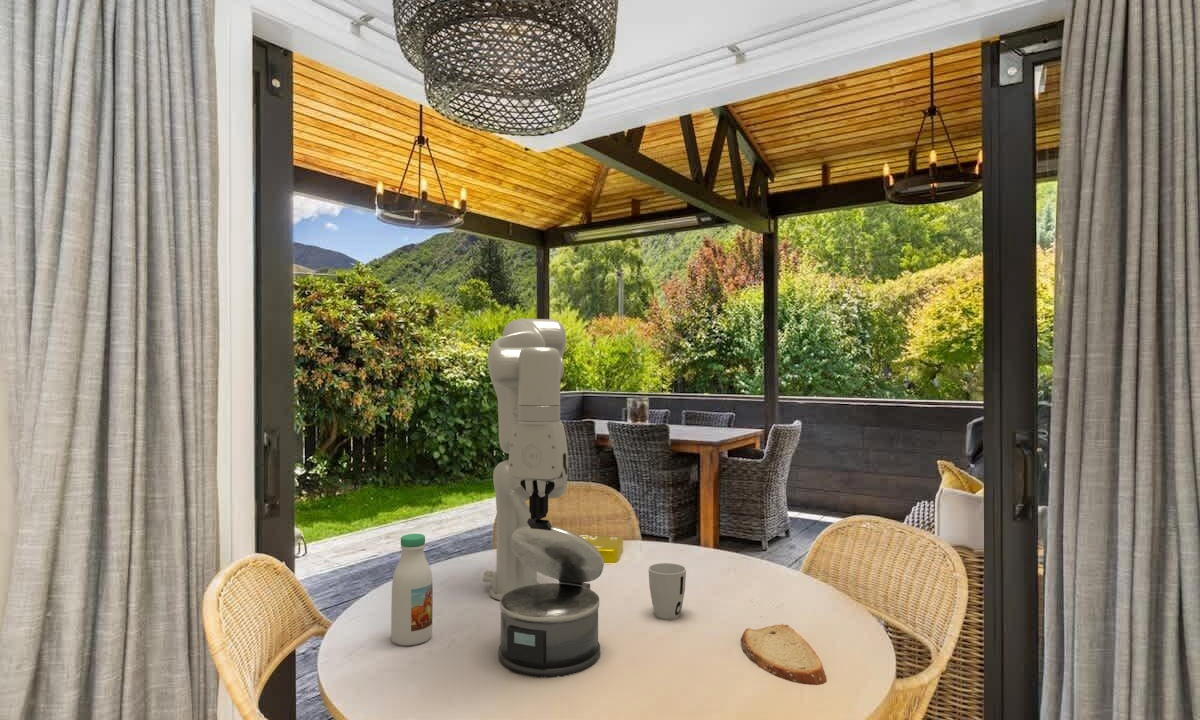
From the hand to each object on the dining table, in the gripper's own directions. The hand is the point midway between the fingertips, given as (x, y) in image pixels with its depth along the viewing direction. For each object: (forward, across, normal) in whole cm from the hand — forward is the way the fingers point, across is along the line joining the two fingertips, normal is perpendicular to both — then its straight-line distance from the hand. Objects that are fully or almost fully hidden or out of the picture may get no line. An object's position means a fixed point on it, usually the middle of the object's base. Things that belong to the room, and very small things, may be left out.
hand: (538, 517), depth 114 cm
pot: (+26, 0, +6) cm, 27 cm away
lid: (+9, 0, +7) cm, 11 cm away
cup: (+26, +15, +32) cm, 44 cm away
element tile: (+26, -17, +69) cm, 76 cm away
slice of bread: (+27, +40, +20) cm, 52 cm away
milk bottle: (+26, -28, +1) cm, 38 cm away
